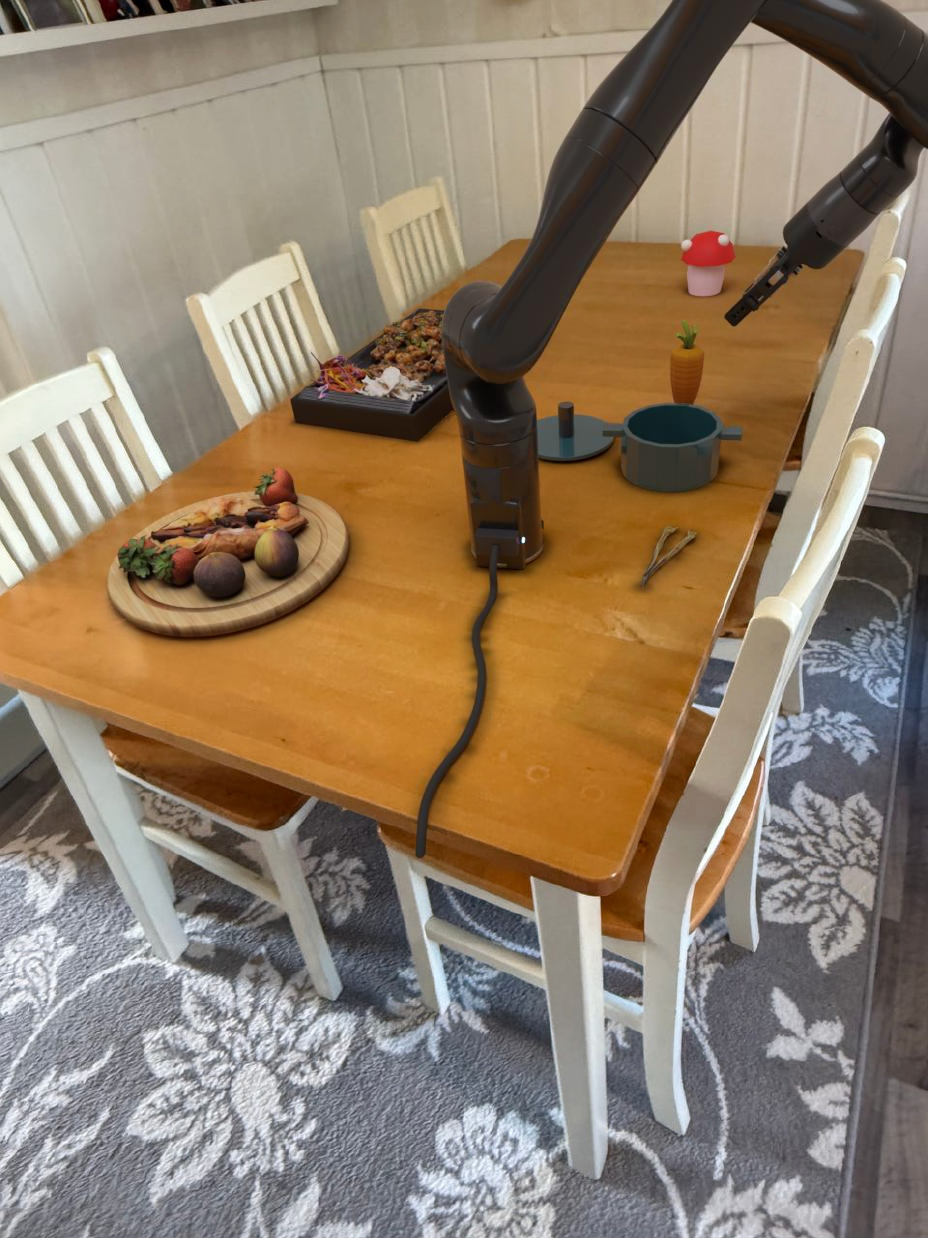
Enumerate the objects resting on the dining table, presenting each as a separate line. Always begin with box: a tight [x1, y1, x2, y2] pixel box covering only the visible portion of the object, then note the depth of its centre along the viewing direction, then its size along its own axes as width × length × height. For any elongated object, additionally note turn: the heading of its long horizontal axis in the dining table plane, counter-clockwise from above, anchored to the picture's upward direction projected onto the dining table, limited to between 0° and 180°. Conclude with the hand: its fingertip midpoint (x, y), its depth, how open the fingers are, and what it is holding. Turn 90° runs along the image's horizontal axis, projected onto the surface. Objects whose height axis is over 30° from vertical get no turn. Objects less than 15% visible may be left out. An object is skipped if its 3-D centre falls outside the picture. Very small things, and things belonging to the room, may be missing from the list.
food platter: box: [289, 308, 454, 442], centre depth 155 cm, size 45×25×10 cm, turn 153°
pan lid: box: [537, 401, 615, 462], centre depth 131 cm, size 15×15×6 cm
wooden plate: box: [106, 467, 350, 638], centre depth 112 cm, size 32×32×8 cm
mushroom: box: [680, 230, 736, 297], centre depth 176 cm, size 11×11×12 cm
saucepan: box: [603, 402, 743, 493], centre depth 121 cm, size 14×19×7 cm
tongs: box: [640, 525, 698, 589], centre depth 105 cm, size 4×13×2 cm, turn 151°
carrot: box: [669, 319, 705, 405], centre depth 131 cm, size 5×5×15 cm
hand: (739, 309), depth 120 cm, fingers open, 8 cm apart
